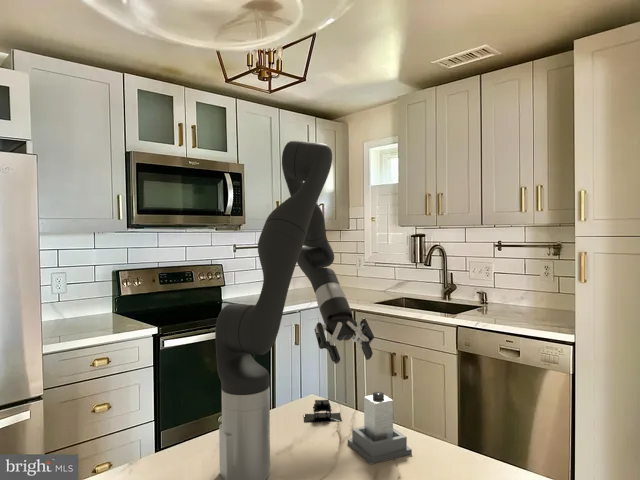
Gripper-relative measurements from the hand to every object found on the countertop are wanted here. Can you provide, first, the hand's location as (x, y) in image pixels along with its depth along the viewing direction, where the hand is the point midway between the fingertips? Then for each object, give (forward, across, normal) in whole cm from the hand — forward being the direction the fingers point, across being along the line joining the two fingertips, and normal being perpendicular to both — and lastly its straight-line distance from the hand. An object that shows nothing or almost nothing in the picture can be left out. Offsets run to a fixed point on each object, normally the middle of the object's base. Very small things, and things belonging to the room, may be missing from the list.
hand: (353, 360), depth 109 cm
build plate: (+6, -4, +19) cm, 20 cm away
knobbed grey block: (+19, 0, +4) cm, 19 cm away
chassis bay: (+19, 0, +4) cm, 20 cm away
